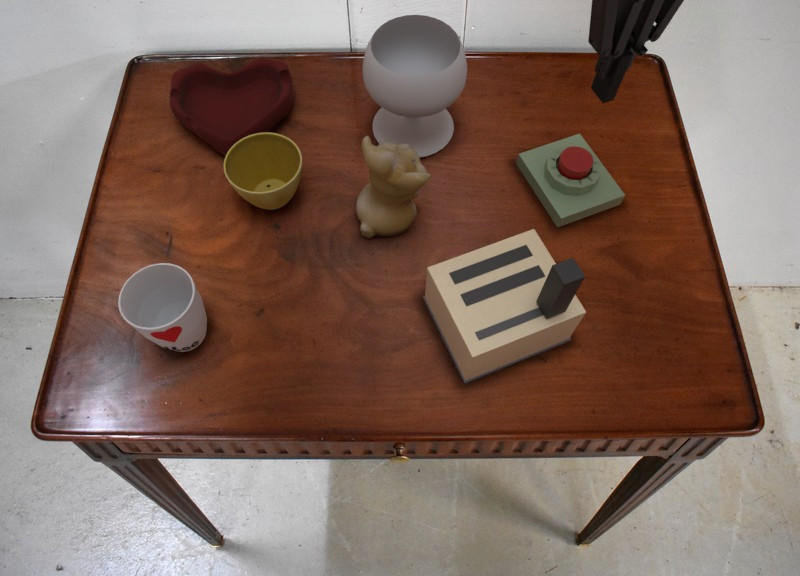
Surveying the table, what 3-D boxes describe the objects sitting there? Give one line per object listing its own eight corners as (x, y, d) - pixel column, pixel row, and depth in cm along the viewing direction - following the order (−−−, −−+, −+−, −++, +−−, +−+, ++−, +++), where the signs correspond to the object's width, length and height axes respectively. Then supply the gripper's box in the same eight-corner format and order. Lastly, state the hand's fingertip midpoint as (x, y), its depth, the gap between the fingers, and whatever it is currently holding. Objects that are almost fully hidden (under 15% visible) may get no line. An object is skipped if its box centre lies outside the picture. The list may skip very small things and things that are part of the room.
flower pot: (323, 187, 84) (317, 153, 77) (278, 237, 80) (268, 205, 73) (268, 156, 86) (257, 121, 80) (221, 203, 82) (206, 170, 76)
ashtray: (174, 171, 85) (162, 147, 80) (180, 89, 92) (169, 63, 88) (299, 159, 86) (294, 134, 82) (294, 79, 94) (289, 53, 89)
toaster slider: (565, 311, 65) (585, 276, 58) (546, 319, 65) (564, 284, 58) (554, 294, 66) (573, 257, 59) (535, 301, 66) (552, 265, 59)
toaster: (570, 341, 73) (589, 312, 65) (464, 384, 70) (471, 359, 63) (522, 260, 78) (535, 226, 71) (422, 298, 75) (424, 266, 68)
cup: (141, 355, 72) (104, 320, 63) (169, 297, 75) (138, 256, 66) (203, 370, 71) (176, 336, 62) (229, 310, 74) (206, 271, 66)
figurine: (431, 197, 83) (438, 119, 70) (424, 248, 79) (430, 176, 66) (362, 189, 83) (355, 111, 70) (352, 240, 79) (343, 167, 66)
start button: (596, 174, 80) (599, 165, 79) (567, 184, 79) (571, 175, 78) (579, 151, 82) (582, 142, 81) (551, 160, 81) (554, 151, 80)
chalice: (462, 97, 92) (473, 12, 78) (456, 168, 85) (467, 88, 72) (372, 90, 92) (368, 4, 79) (360, 160, 86) (353, 79, 73)
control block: (620, 204, 82) (630, 186, 79) (557, 227, 80) (564, 210, 77) (575, 143, 87) (583, 124, 84) (515, 163, 86) (520, 144, 82)
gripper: (726, -163, 51) (632, 57, 72) (596, -131, 49) (537, 87, 70) (784, -118, 48) (667, 99, 69) (647, -81, 46) (569, 132, 67)
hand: (602, 93), depth 69 cm, fingers closed
